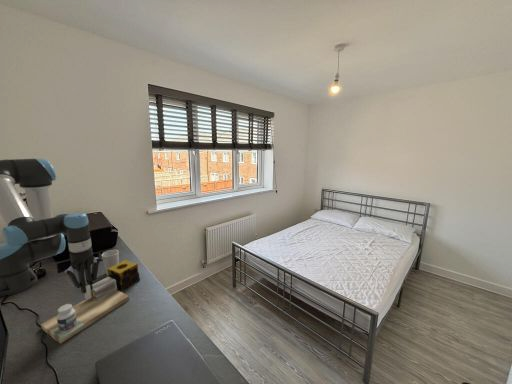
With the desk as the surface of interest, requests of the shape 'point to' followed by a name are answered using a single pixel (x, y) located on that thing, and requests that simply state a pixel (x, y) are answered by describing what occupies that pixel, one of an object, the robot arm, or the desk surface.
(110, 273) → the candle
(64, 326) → the pill bottle
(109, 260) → the cup
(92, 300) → the wooden base board
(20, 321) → the desk surface
